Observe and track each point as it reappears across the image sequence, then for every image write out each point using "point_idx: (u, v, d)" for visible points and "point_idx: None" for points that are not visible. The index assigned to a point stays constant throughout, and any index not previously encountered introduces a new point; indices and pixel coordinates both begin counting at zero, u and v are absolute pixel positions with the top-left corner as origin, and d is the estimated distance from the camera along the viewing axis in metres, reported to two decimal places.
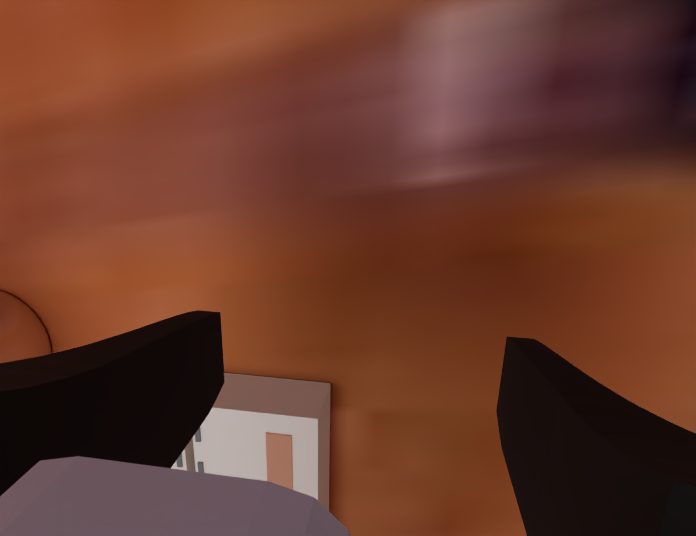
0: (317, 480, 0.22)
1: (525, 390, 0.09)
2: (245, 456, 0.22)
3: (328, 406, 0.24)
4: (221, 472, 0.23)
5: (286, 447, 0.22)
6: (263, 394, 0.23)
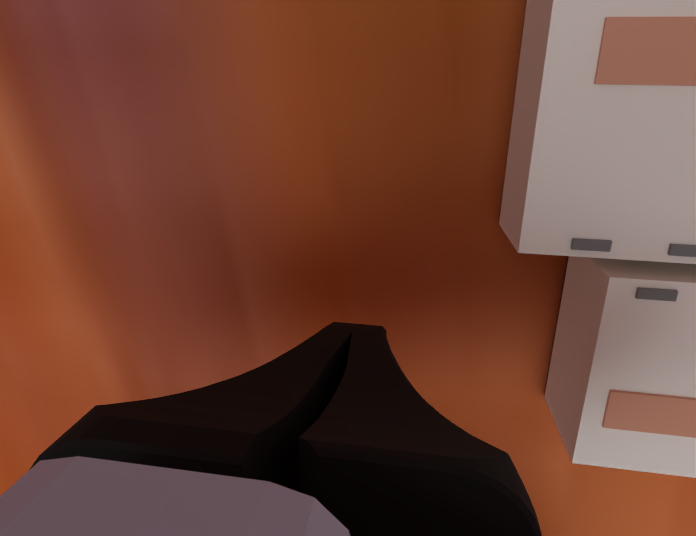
0: None
1: None
2: (660, 139, 0.10)
3: None
4: None
5: (641, 33, 0.09)
6: (524, 112, 0.11)
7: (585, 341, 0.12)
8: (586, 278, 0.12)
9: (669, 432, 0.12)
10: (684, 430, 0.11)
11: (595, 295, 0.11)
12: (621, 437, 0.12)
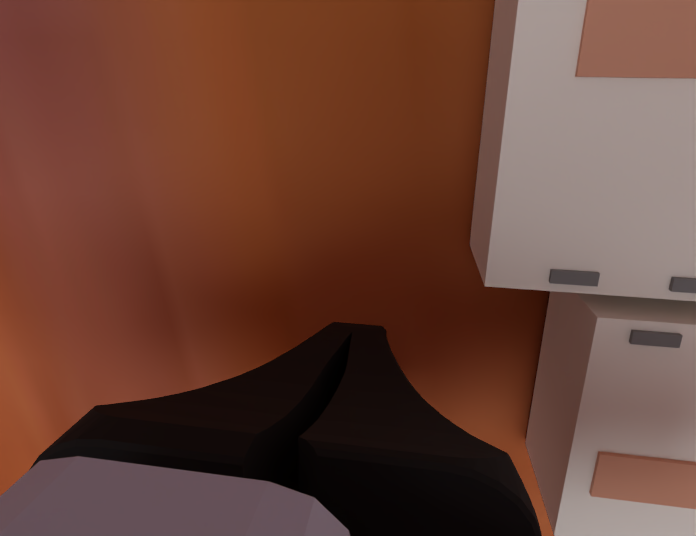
0: None
1: None
2: (659, 147, 0.08)
3: None
4: None
5: (635, 11, 0.07)
6: (493, 112, 0.09)
7: (569, 389, 0.10)
8: (570, 313, 0.10)
9: (671, 503, 0.09)
10: (689, 500, 0.09)
11: (580, 335, 0.09)
12: (613, 507, 0.10)
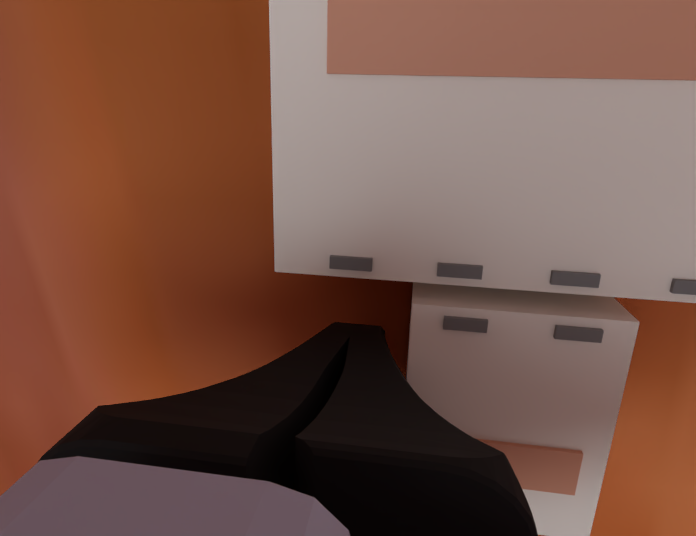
0: None
1: None
2: (409, 139, 0.08)
3: None
4: (467, 216, 0.08)
5: (371, 12, 0.08)
6: None
7: None
8: None
9: None
10: None
11: None
12: None
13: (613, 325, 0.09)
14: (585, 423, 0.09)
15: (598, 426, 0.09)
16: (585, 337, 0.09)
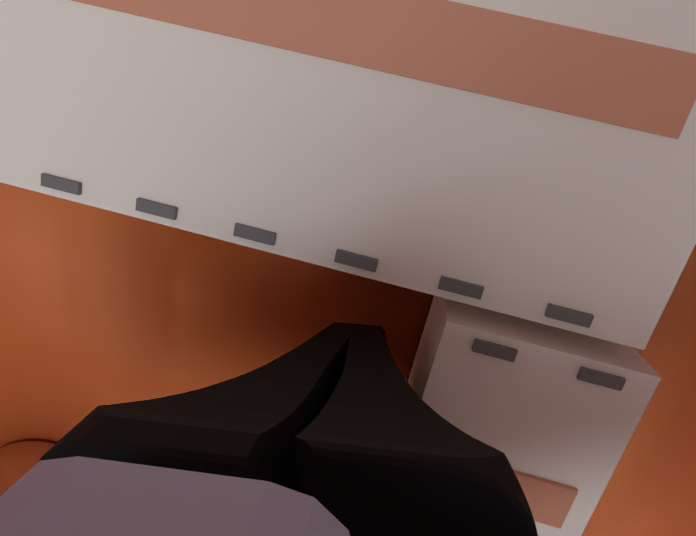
0: None
1: None
2: (114, 73, 0.09)
3: None
4: (164, 157, 0.09)
5: None
6: None
7: (420, 386, 0.10)
8: (437, 315, 0.10)
9: None
10: None
11: (436, 337, 0.10)
12: None
13: (635, 376, 0.09)
14: (586, 463, 0.10)
15: (598, 468, 0.09)
16: (606, 383, 0.09)
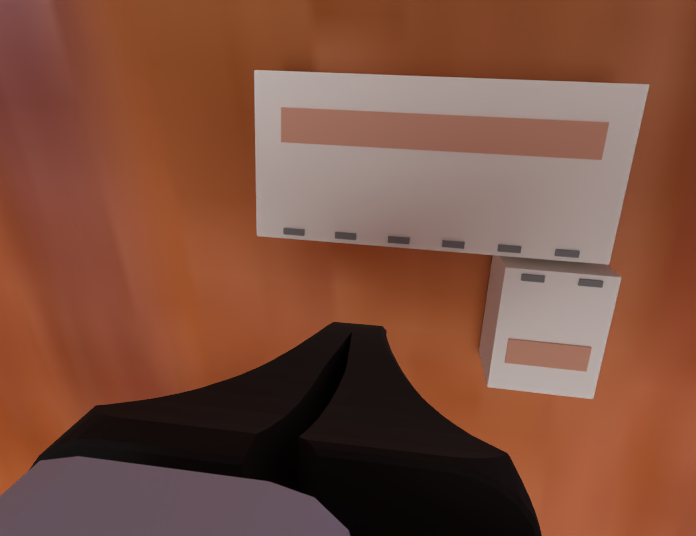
0: (349, 74, 0.16)
1: None
2: (320, 173, 0.18)
3: None
4: (348, 209, 0.18)
5: (301, 116, 0.17)
6: None
7: (495, 308, 0.19)
8: (498, 269, 0.19)
9: (545, 366, 0.18)
10: (554, 364, 0.18)
11: (500, 279, 0.18)
12: (516, 369, 0.19)
13: (608, 279, 0.17)
14: (593, 331, 0.18)
15: (600, 332, 0.18)
16: (594, 285, 0.17)
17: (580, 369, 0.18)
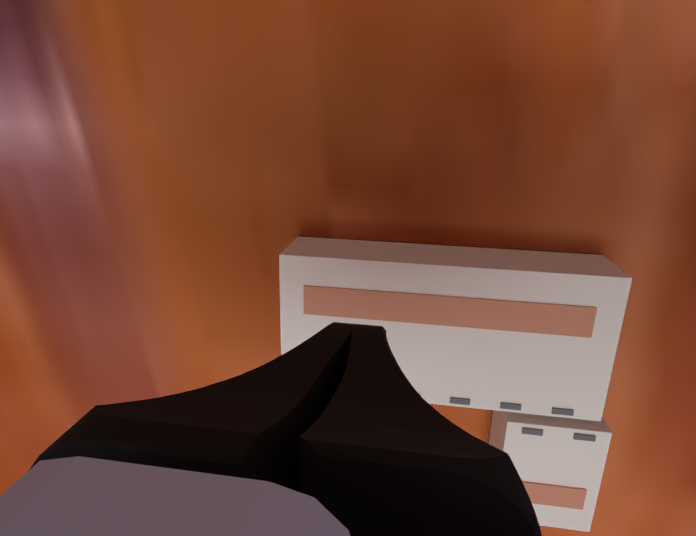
0: (364, 260, 0.18)
1: None
2: None
3: (318, 240, 0.21)
4: None
5: (321, 292, 0.19)
6: None
7: None
8: (500, 412, 0.21)
9: (545, 503, 0.20)
10: (553, 502, 0.20)
11: (503, 426, 0.20)
12: None
13: (600, 433, 0.19)
14: (587, 476, 0.20)
15: (594, 477, 0.20)
16: (587, 438, 0.19)
17: (577, 507, 0.20)
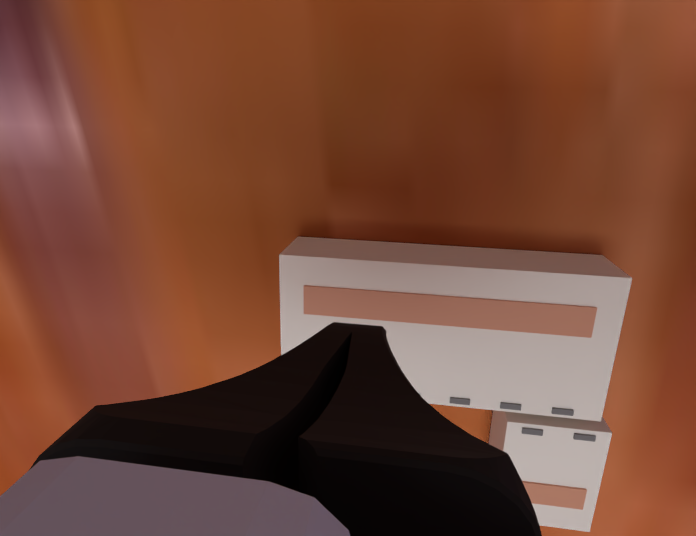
0: (364, 260, 0.18)
1: None
2: None
3: (318, 240, 0.21)
4: None
5: (321, 292, 0.19)
6: None
7: None
8: (500, 412, 0.21)
9: (545, 503, 0.20)
10: (553, 502, 0.20)
11: (503, 426, 0.20)
12: None
13: (600, 433, 0.19)
14: (587, 476, 0.20)
15: (594, 477, 0.20)
16: (587, 438, 0.19)
17: (577, 507, 0.20)
